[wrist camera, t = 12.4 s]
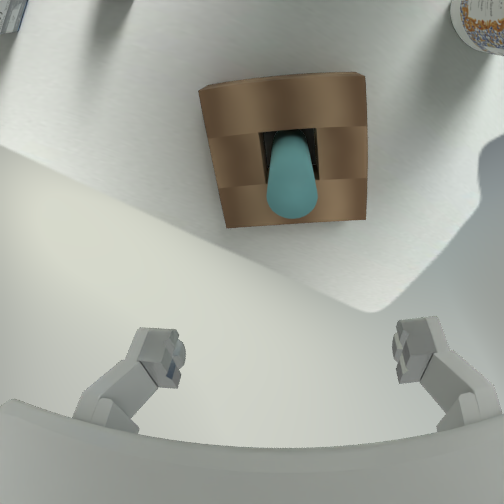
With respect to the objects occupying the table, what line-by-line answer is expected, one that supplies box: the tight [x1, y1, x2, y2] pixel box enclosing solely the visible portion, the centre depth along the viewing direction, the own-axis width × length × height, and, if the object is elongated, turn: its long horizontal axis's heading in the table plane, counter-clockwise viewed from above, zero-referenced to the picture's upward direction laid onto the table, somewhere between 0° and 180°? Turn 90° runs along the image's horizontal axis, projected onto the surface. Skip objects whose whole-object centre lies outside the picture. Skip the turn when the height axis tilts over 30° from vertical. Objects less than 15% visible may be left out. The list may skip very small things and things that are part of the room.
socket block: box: [198, 72, 368, 228], centre depth 29 cm, size 14×14×4 cm
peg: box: [267, 129, 318, 219], centre depth 26 cm, size 3×3×12 cm
